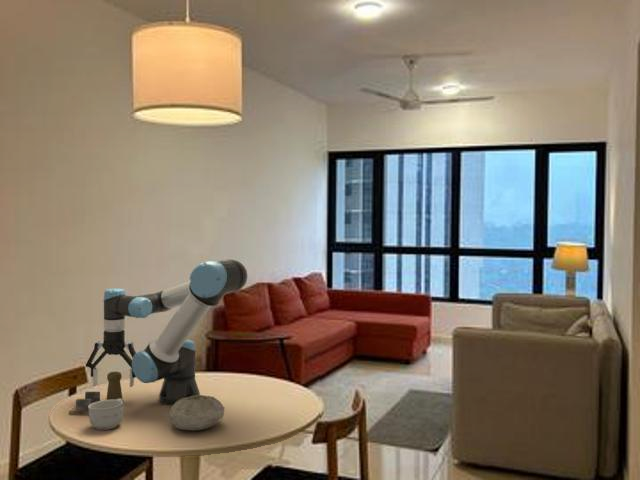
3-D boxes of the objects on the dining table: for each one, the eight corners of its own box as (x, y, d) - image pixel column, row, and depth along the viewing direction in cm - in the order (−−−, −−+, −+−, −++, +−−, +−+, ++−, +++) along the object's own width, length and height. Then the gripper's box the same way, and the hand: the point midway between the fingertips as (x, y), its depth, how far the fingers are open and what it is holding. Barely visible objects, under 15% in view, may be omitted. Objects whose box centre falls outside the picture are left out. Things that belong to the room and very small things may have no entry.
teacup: (103, 435, 199) (103, 410, 199) (81, 428, 205) (81, 404, 204) (137, 423, 211) (137, 399, 211) (115, 417, 217) (115, 394, 216)
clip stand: (106, 405, 229) (106, 391, 229) (97, 414, 219) (97, 400, 219) (79, 405, 229) (79, 391, 229) (68, 414, 219) (68, 399, 218)
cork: (125, 400, 235) (125, 372, 235) (111, 404, 231) (110, 375, 230) (117, 397, 239) (117, 369, 239) (103, 400, 235) (102, 372, 235)
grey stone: (170, 419, 215) (170, 390, 214) (222, 416, 219) (222, 388, 218) (169, 437, 197) (169, 406, 197) (226, 434, 201) (226, 403, 201)
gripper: (150, 328, 238) (149, 383, 239) (84, 327, 238) (83, 382, 239) (145, 332, 231) (144, 389, 232) (76, 331, 230) (76, 387, 231)
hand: (113, 385), depth 235 cm, fingers open, 13 cm apart
